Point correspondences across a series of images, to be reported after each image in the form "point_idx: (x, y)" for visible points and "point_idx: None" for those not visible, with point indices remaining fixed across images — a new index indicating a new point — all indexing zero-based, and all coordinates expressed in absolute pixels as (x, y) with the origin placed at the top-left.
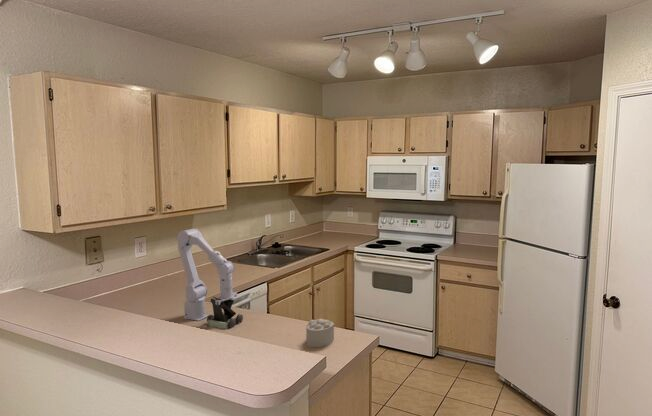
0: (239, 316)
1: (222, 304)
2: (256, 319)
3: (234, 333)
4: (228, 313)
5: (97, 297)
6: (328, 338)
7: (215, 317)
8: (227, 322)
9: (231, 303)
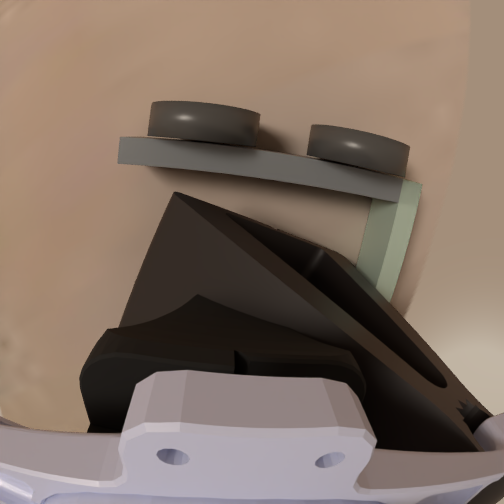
0: (227, 107)
1: (454, 404)
2: (82, 23)
3: (454, 79)
4: None
5: None
6: None
7: None
8: (391, 194)
9: (196, 335)
